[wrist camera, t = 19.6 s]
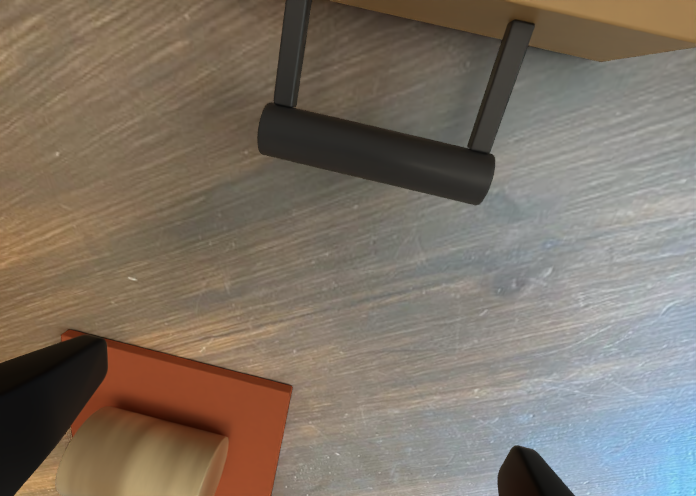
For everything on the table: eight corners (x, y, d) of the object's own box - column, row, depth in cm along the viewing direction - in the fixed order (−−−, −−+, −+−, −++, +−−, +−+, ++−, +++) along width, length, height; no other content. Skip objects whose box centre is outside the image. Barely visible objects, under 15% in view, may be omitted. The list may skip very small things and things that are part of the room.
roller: (106, 462, 23) (46, 516, 18) (122, 393, 23) (65, 429, 18) (218, 492, 23) (183, 553, 18) (234, 422, 23) (204, 466, 18)
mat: (82, 461, 26) (75, 469, 25) (68, 328, 21) (59, 334, 21) (268, 510, 25) (265, 519, 25) (293, 385, 21) (290, 393, 20)
